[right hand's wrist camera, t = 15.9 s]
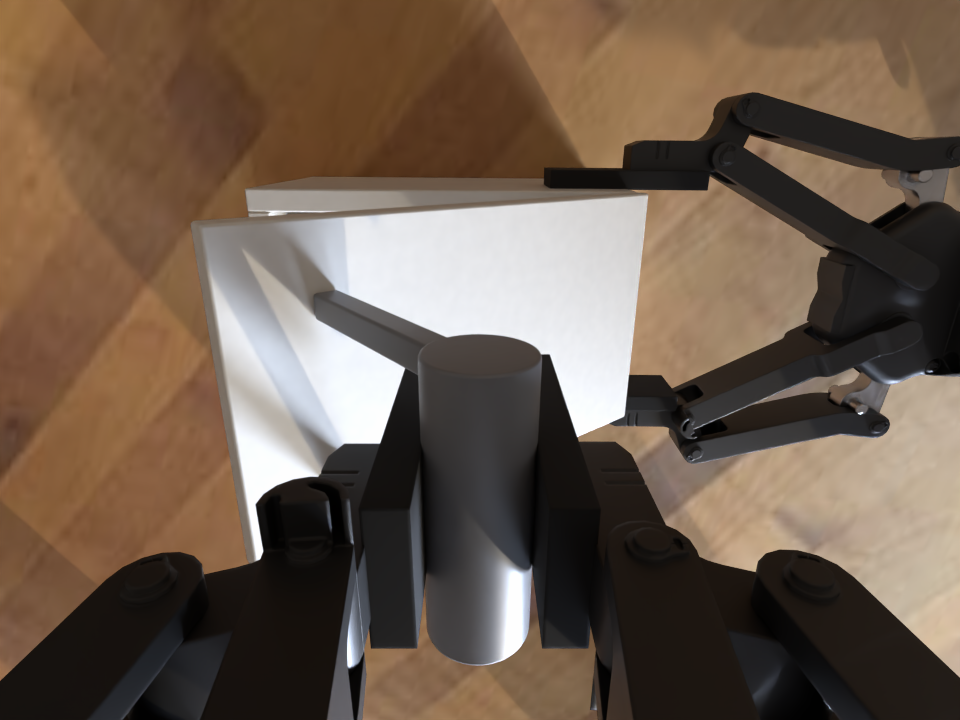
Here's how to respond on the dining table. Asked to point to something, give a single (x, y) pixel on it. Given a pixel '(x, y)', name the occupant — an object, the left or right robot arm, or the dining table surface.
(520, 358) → the lid
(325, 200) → the chest
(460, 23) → the dining table surface
